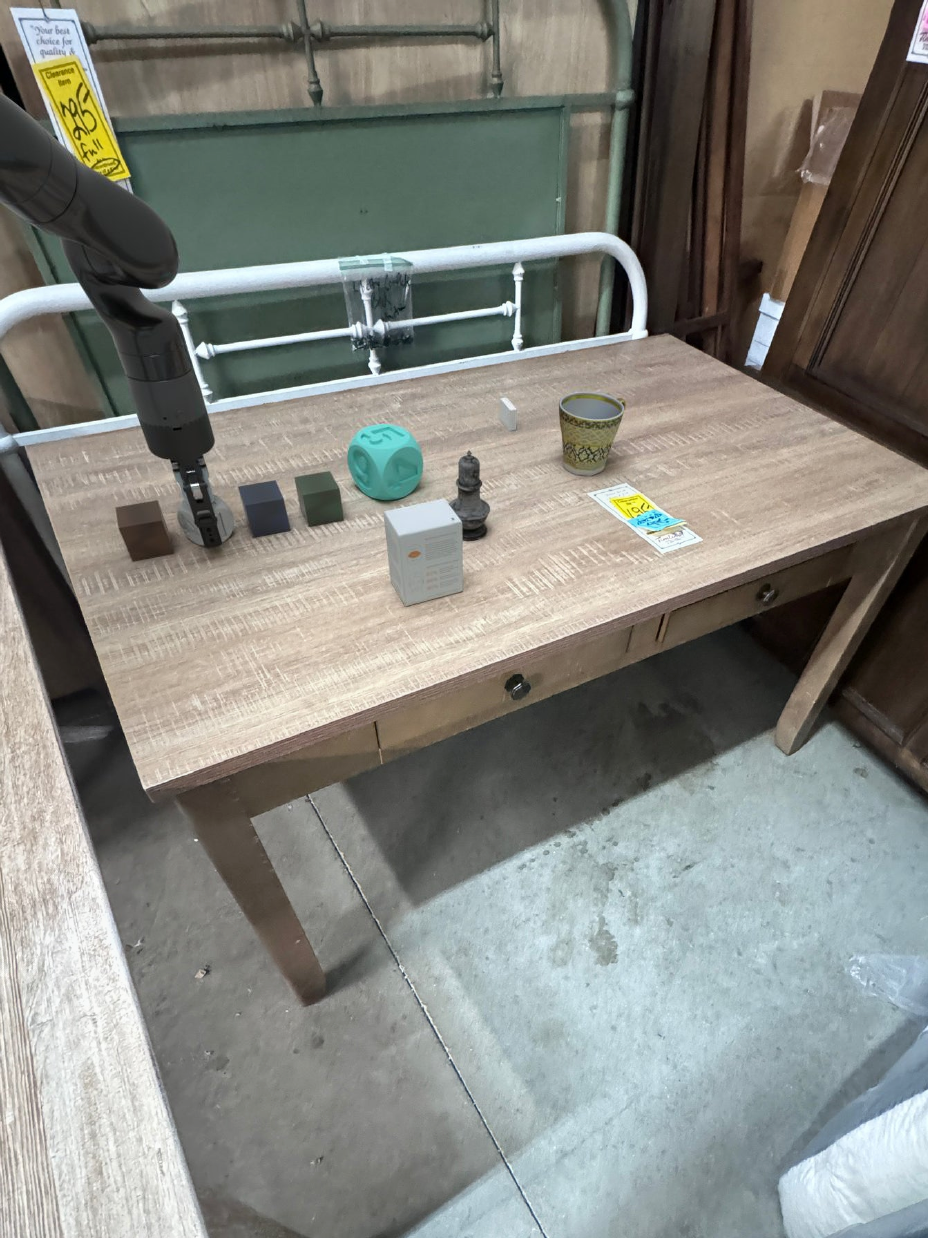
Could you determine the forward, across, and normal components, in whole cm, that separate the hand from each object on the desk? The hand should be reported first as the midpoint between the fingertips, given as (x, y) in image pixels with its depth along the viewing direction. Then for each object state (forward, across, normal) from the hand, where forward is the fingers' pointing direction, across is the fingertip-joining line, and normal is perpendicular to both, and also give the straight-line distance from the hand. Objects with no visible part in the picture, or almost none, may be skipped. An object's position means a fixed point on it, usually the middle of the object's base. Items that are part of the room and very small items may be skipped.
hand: (209, 530), depth 92 cm
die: (+1, 0, 0) cm, 1 cm away
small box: (+1, +21, +23) cm, 31 cm away
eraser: (+1, -17, +52) cm, 55 cm away
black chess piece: (+1, +11, +33) cm, 35 cm away
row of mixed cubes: (+1, 0, +4) cm, 4 cm away
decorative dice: (+1, -4, +26) cm, 26 cm away
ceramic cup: (+1, 0, +59) cm, 59 cm away
